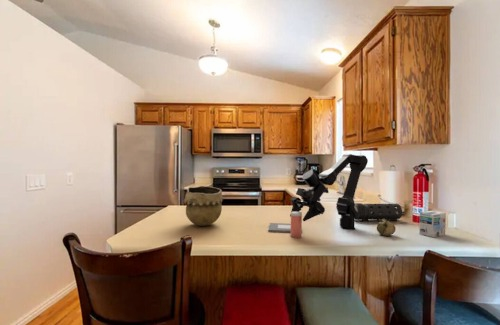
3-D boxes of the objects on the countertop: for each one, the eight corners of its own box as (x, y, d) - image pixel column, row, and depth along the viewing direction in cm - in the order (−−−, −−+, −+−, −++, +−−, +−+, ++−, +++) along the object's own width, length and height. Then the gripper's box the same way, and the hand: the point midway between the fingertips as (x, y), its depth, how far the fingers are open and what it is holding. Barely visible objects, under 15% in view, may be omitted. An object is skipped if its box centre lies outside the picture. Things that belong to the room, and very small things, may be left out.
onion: (396, 238, 121) (397, 220, 121) (377, 236, 124) (377, 219, 124) (394, 234, 128) (394, 217, 128) (375, 232, 131) (376, 216, 131)
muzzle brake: (402, 222, 153) (402, 204, 152) (355, 222, 150) (355, 204, 150) (392, 218, 162) (392, 201, 162) (347, 219, 160) (348, 201, 160)
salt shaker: (301, 235, 125) (301, 211, 124) (301, 238, 120) (302, 213, 120) (290, 234, 125) (290, 211, 125) (290, 237, 120) (290, 213, 120)
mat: (299, 225, 141) (299, 223, 141) (301, 233, 128) (301, 231, 128) (269, 224, 143) (269, 222, 143) (268, 231, 130) (268, 229, 130)
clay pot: (231, 227, 138) (231, 188, 137) (192, 233, 126) (192, 191, 125) (213, 219, 155) (213, 184, 155) (177, 223, 143) (177, 186, 143)
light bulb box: (433, 237, 123) (433, 214, 123) (418, 234, 129) (418, 211, 129) (446, 235, 128) (446, 212, 128) (431, 231, 134) (431, 210, 134)
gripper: (294, 180, 133) (275, 203, 128) (320, 183, 117) (300, 210, 112) (305, 195, 137) (288, 218, 132) (333, 200, 121) (314, 227, 115)
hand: (296, 218), depth 123 cm, fingers open, 9 cm apart
